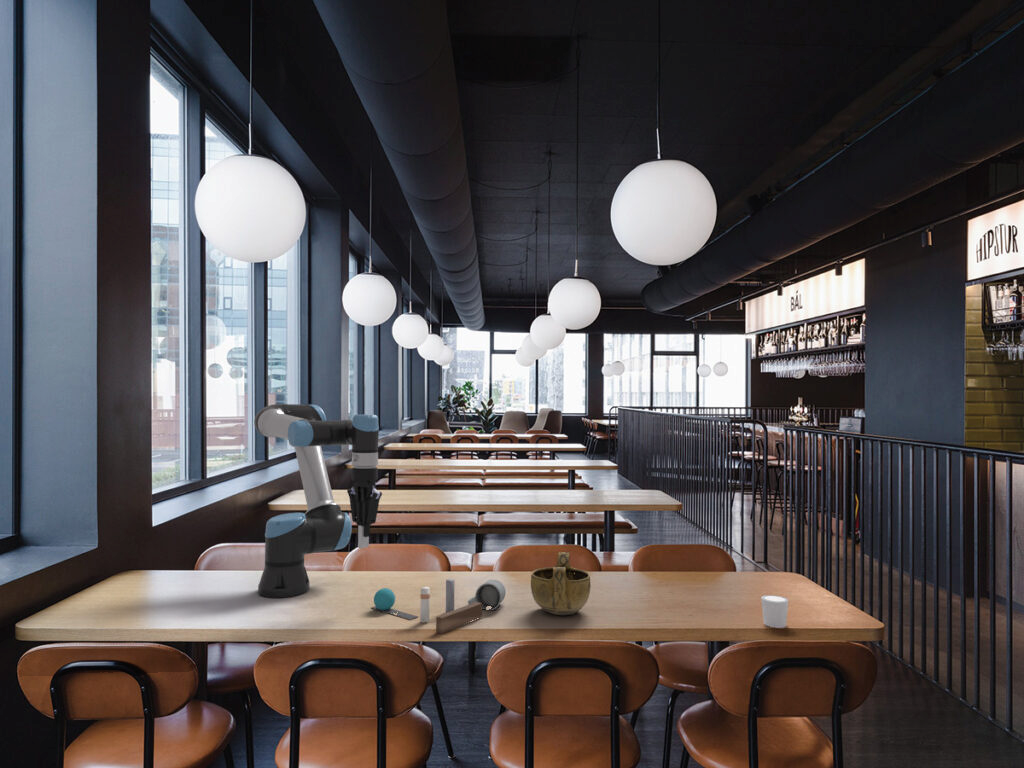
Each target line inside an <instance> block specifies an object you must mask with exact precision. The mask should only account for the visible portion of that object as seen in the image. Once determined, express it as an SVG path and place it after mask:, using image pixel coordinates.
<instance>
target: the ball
mask: <svg viewBox="0 0 1024 768" xmlns="http://www.w3.org/2000/svg"><path fill="white" fill-rule="evenodd" d="M373 603H374V607H375V606H376V607H377V608H378V609H380V610H388V609H392V607H393V606H394V605H395V603H396V595H395V593H394V591H392V590H391V589H390V588H389V587H388V588H387V587H386V588H380V589H378V590H377V591H376V592H375V594H374V596H373Z"/></svg>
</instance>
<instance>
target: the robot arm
mask: <svg viewBox="0 0 1024 768" xmlns="http://www.w3.org/2000/svg"><path fill="white" fill-rule="evenodd" d="M253 421H254V422H253V423H254V424H253V425H254V428H255V430H256V431H257V432H258V433H259V434H260V435H261V436H264V437H266V438H281V439H283V440H284V439H285V440H287V441H288V443H289V445H290V446H291V447H293V448H294V450H295V451H294V452H295V453H296V454H295V456H296V459H297V465H298V468H299V470H298V471H299V473H300V478H301V483H302V487H303V493H304V496H305V497H304V498H305V502H306V507H307V510H306V512H305V513H304V512H296V511H295V512H288V513H282V514H278V515H276V516H273V517H271V518H270V519H268V520H267V521H266V524H265V533H264V537H265V538H264V539H265V543H264V568H263V571H262V574H261V577H260V580H259V583H258V585H257V594H258V593H259V594H260V595H259V594H258V595H259V596H261V595H263V596H262V597H264V596H268V597H267V598H272V597H281V598H290V597H289V596H291V597H296V596H300V595H303V594H306V593H307V592H309V591H310V586H311V585H310V579H309V576H308V572H307V570H306V566H305V555H310V554H317V553H324V552H334V551H336V550H342V549H344V548H346V547H347V545H348V544H349V542H350V540H351V535H352V528H353V526H352V524H353V523H355V524H356V525H357V531H356V532H357V533H356V534H357V537H358V539H357V541H358V542H357V547H358V549H365V548H369V547H370V546H369V545H370V543H369V542H370V535H371V525H373V524H374V525H375V523H377V522H376V520H377V515H378V509H379V504H380V500H381V497H382V495H383V492H382V491H378V490H377V486H376V481H377V480H378V478H379V476H378V474H379V473H378V472H379V471H378V470H379V469H378V467H377V466H378V465H379V434H380V433H379V430H380V427H379V417H378V415H376V414H354V415H353V417H352V420H351V419H342V420H327V416H326V414H325V412H324V410H323V409H322V408H321V407H320V406H319V405H317V404H310V403H304V404H302V403H301V404H299V403H298V404H292V403H289V404H288V403H287V404H286V403H285V404H284V403H282V404H281V403H276V404H275V403H274V404H269V405H267V406H265V407H262V408H261V409H260V410H259V411H258V412H257V413H256V415H255V417H254V420H253ZM322 446H324V447H326V446H327V447H328V446H351V454H352V455H351V465H352V468H351V480H352V481H353V484H352V487H351V488H347V491H346V492H347V495H348V498H349V505H350V514H351V517H350V515H349V514H348V512H344V511H343V512H342V509H341V505H340V504H339V503H336V502H335V499H334V495H333V490H332V487H331V483H330V478H329V475H328V470H327V465H326V463H325V462H326V461H325V457H324V452H323V450H322ZM352 522H353V523H352ZM295 595H296V596H295Z"/></svg>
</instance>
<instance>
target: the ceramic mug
mask: <svg viewBox="0 0 1024 768" xmlns="http://www.w3.org/2000/svg"><path fill="white" fill-rule="evenodd" d="M474 594H475V595H474V596H473V597H471V598H469V600H467V603H468V605H469V604H472V603H475V602H479V603H482V610H483V609H486V607H487V606H491V607H492V608H491V609H489V610H491V611H494V610H496V609H497V608H498V607H499V606H500V604H501V603H502V602H503V601H504V599H505V597H506V587H505V585H504V584H503V582H501V581H500V580H497V579H489V580H486V581H485V582H484V583H483V584H481V585H480V586H478V588H477V589H476V591H475V593H474Z"/></svg>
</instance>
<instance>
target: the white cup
mask: <svg viewBox="0 0 1024 768" xmlns="http://www.w3.org/2000/svg"><path fill="white" fill-rule="evenodd" d="M760 599H761V609H762V619H763V624H764V625H765V626H767V627H769V626H770V628H774V627H775V629H777V628H778V629H784V628H786V627H787V619H788V608H789V599H788V598H786V597H784V596H780V595H776V594H775V595H774V594H773V595H772V594H767V595H762V596H761V598H760Z"/></svg>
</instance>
